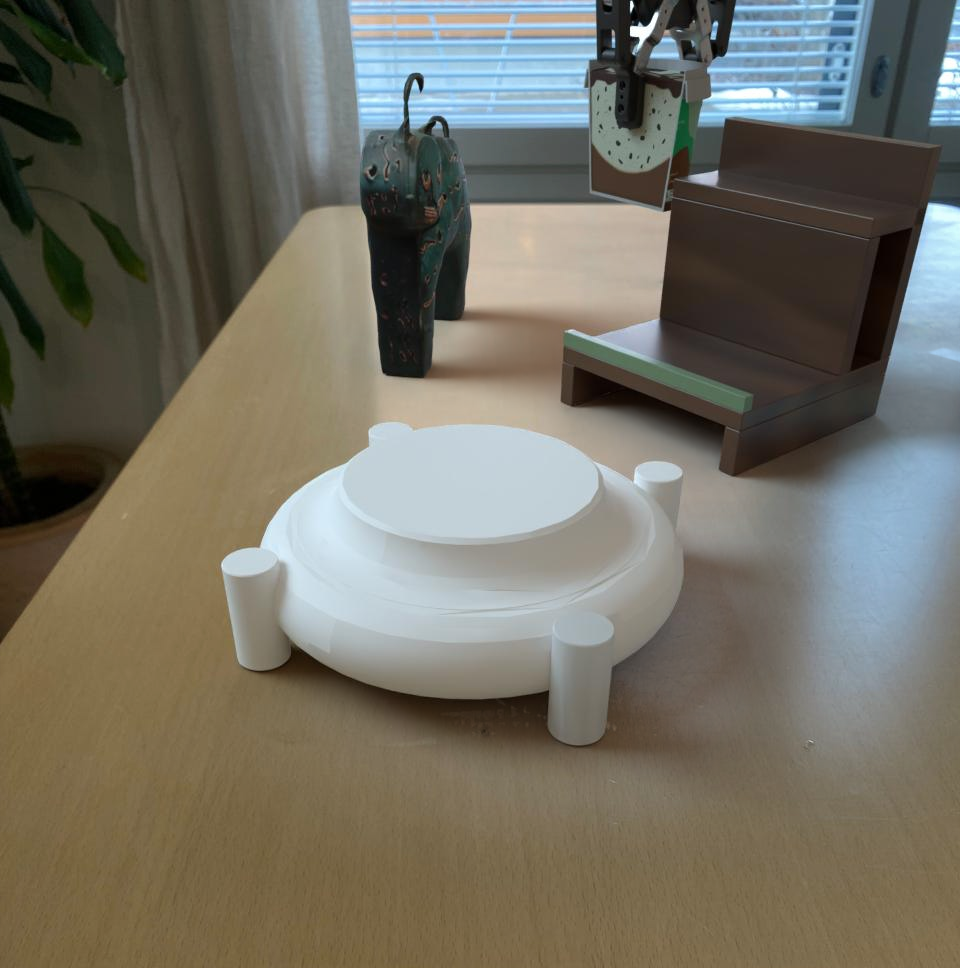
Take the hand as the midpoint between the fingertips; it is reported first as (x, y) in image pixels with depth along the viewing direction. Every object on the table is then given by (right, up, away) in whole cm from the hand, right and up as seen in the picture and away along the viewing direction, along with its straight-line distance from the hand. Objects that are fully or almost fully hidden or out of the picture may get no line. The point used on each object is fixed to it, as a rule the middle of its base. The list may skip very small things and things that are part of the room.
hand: (658, 122), depth 80 cm
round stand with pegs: (-15, -41, -30) cm, 53 cm away
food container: (0, -5, +3) cm, 6 cm away
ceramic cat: (-20, -17, +3) cm, 26 cm away
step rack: (+2, -26, -9) cm, 27 cm away
